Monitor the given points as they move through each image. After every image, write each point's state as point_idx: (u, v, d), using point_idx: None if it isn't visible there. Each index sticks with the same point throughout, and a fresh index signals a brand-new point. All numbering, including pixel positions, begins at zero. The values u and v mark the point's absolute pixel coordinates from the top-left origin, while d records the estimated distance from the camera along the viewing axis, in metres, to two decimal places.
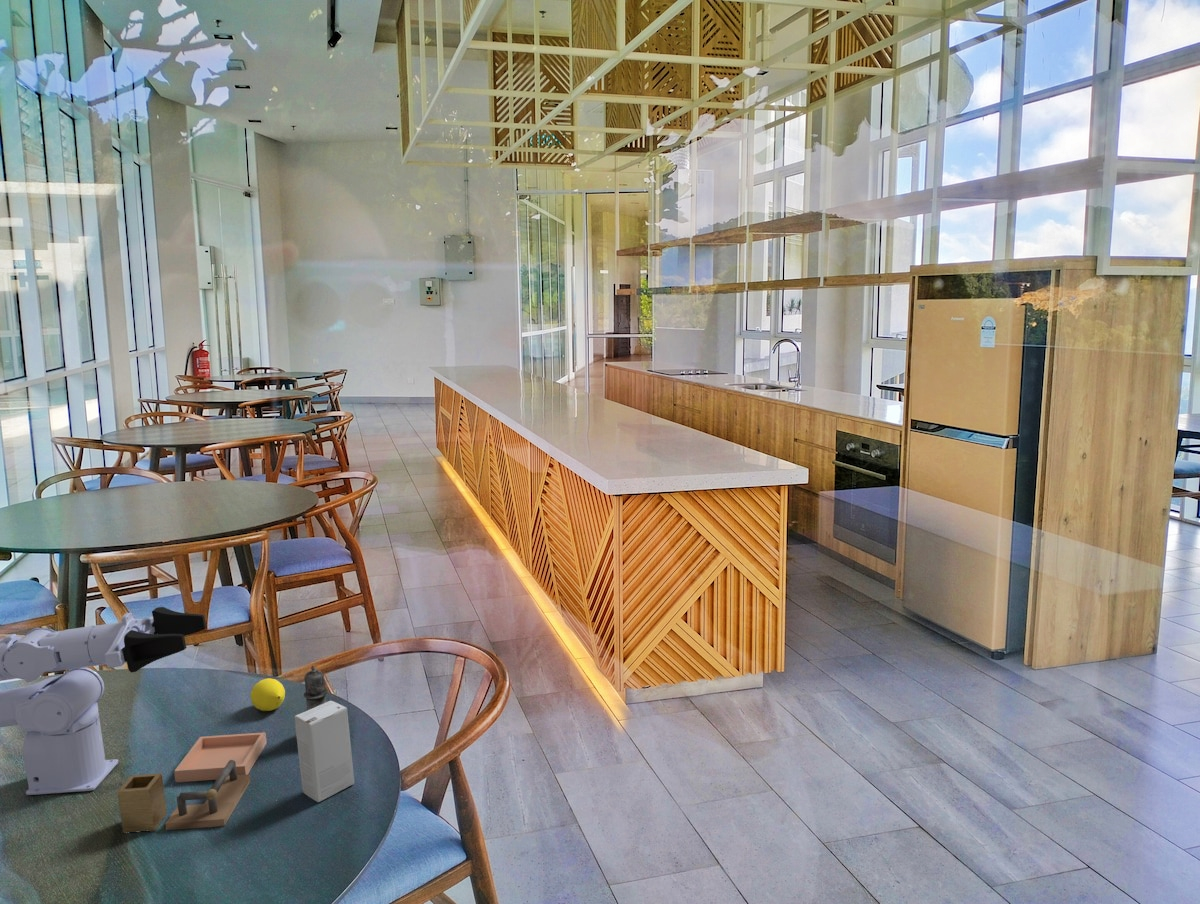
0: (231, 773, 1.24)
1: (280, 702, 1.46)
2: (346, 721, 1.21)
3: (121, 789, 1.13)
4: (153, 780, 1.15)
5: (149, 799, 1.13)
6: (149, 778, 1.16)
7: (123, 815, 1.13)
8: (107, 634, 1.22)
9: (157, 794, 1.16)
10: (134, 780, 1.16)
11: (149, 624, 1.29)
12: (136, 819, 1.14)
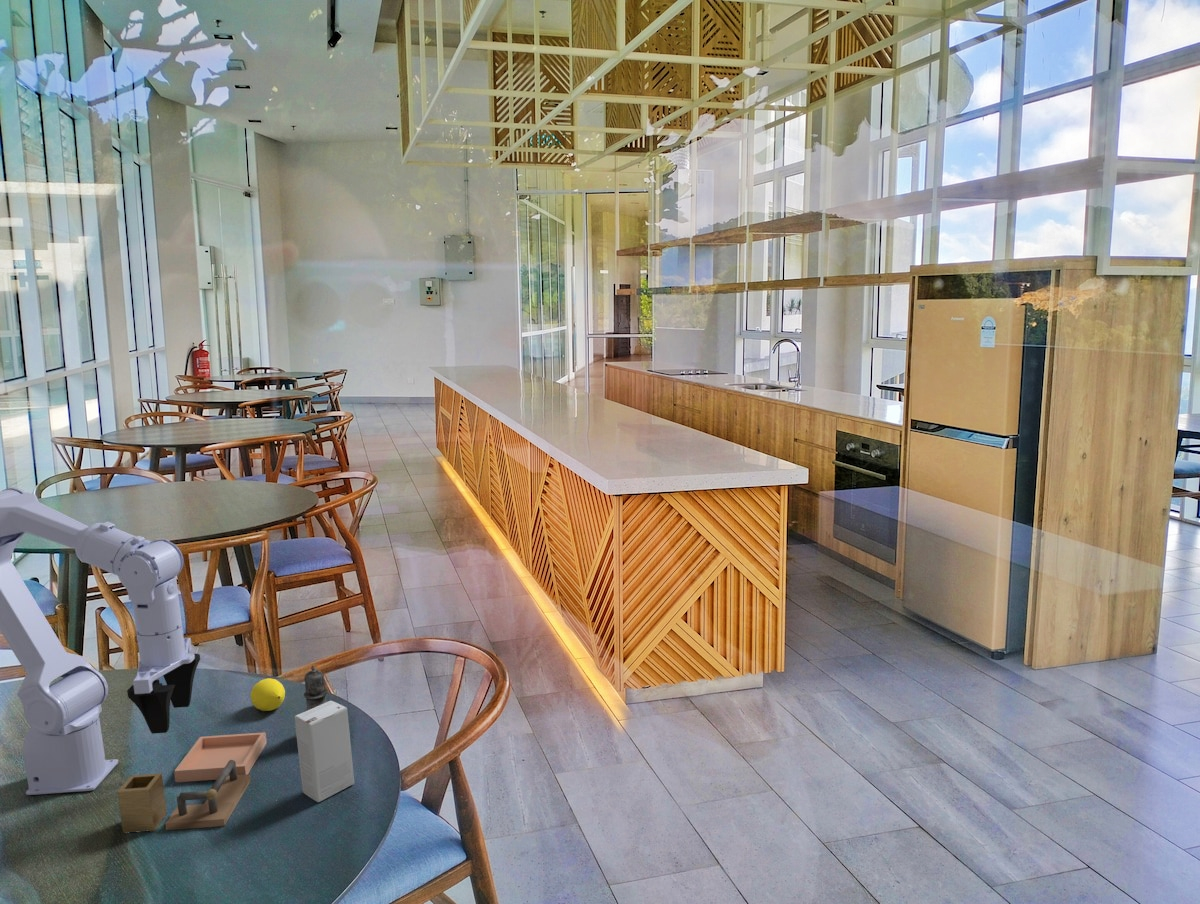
0: (231, 773, 1.24)
1: (280, 702, 1.46)
2: (346, 721, 1.21)
3: (121, 789, 1.13)
4: (153, 780, 1.15)
5: (149, 799, 1.13)
6: (149, 778, 1.16)
7: (123, 815, 1.13)
8: (170, 650, 1.19)
9: (157, 794, 1.16)
10: (134, 780, 1.16)
11: None
12: (136, 819, 1.14)
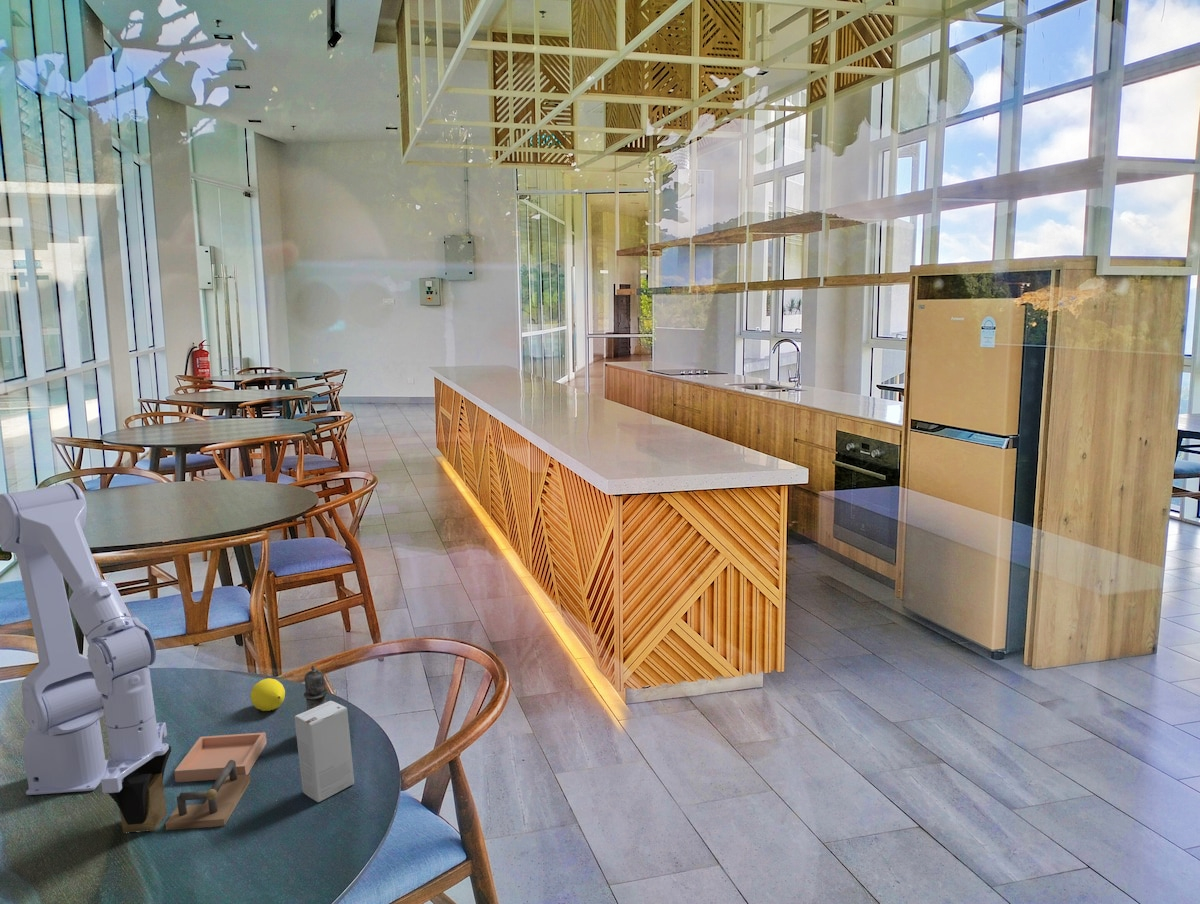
0: (231, 773, 1.24)
1: (280, 702, 1.46)
2: (346, 721, 1.21)
3: None
4: (153, 780, 1.15)
5: (149, 799, 1.13)
6: None
7: None
8: (142, 743, 1.12)
9: (157, 794, 1.16)
10: None
11: None
12: None
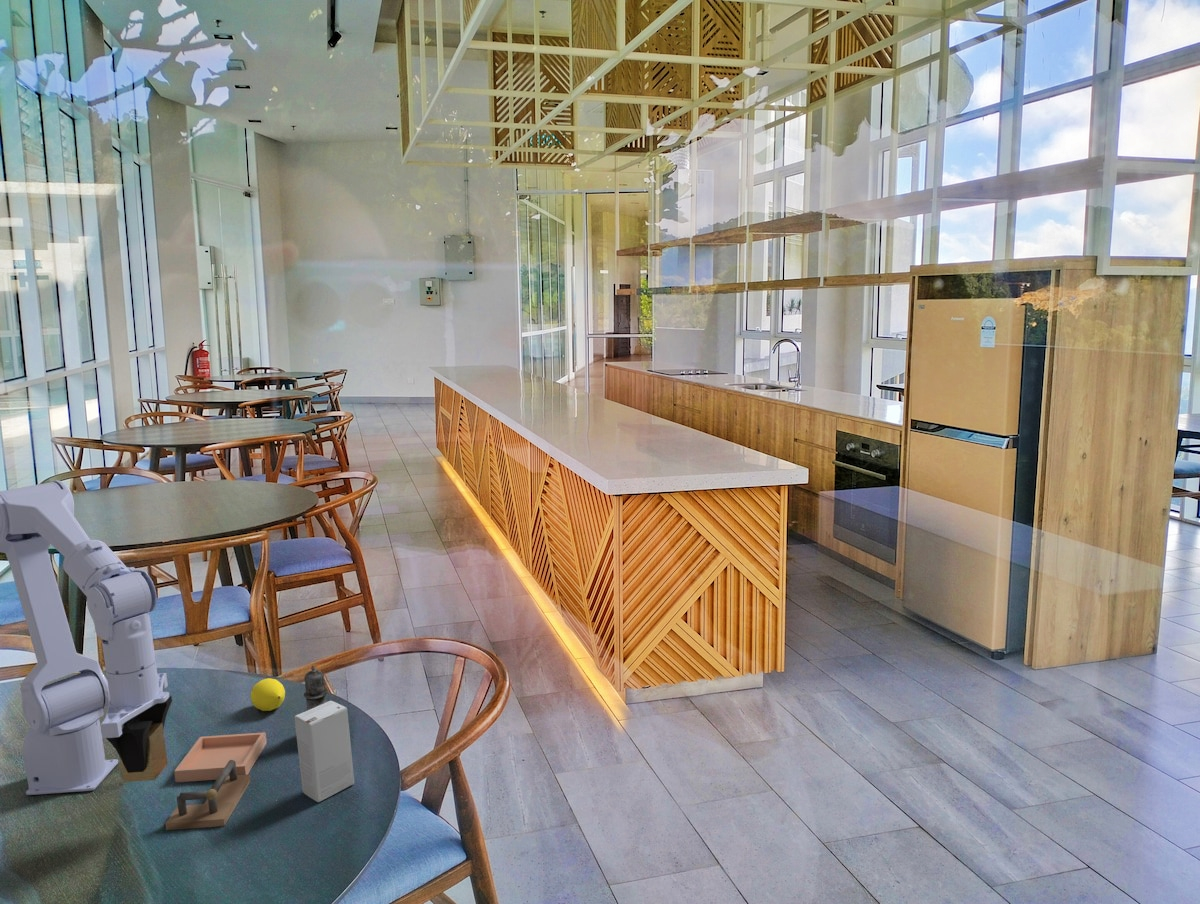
0: (231, 773, 1.24)
1: (280, 702, 1.46)
2: (346, 721, 1.21)
3: None
4: (154, 729, 1.14)
5: (149, 747, 1.12)
6: None
7: None
8: (142, 689, 1.11)
9: (158, 743, 1.14)
10: None
11: None
12: None
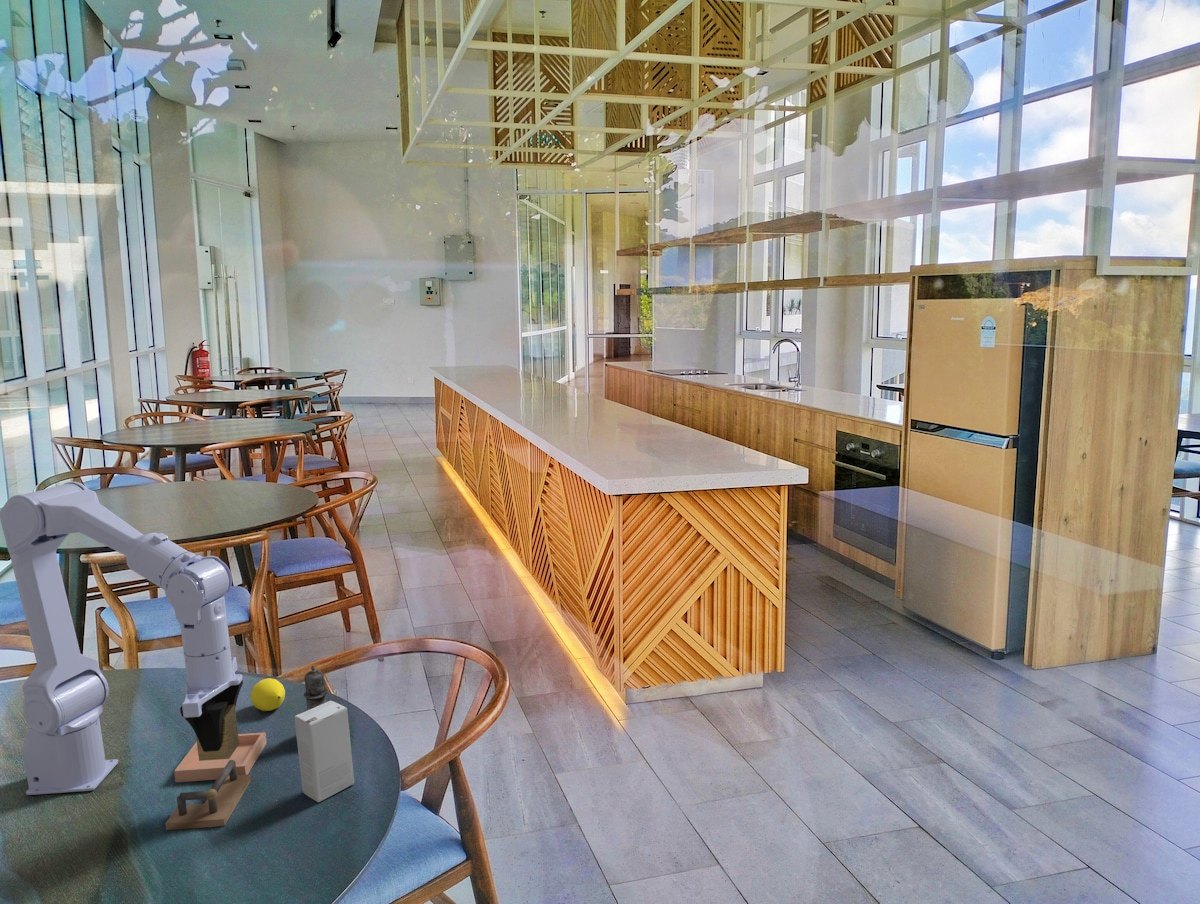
0: (231, 773, 1.24)
1: (280, 702, 1.46)
2: (346, 721, 1.21)
3: None
4: (227, 710, 1.19)
5: (224, 727, 1.17)
6: None
7: (199, 743, 1.17)
8: (219, 672, 1.15)
9: (231, 724, 1.19)
10: None
11: None
12: None
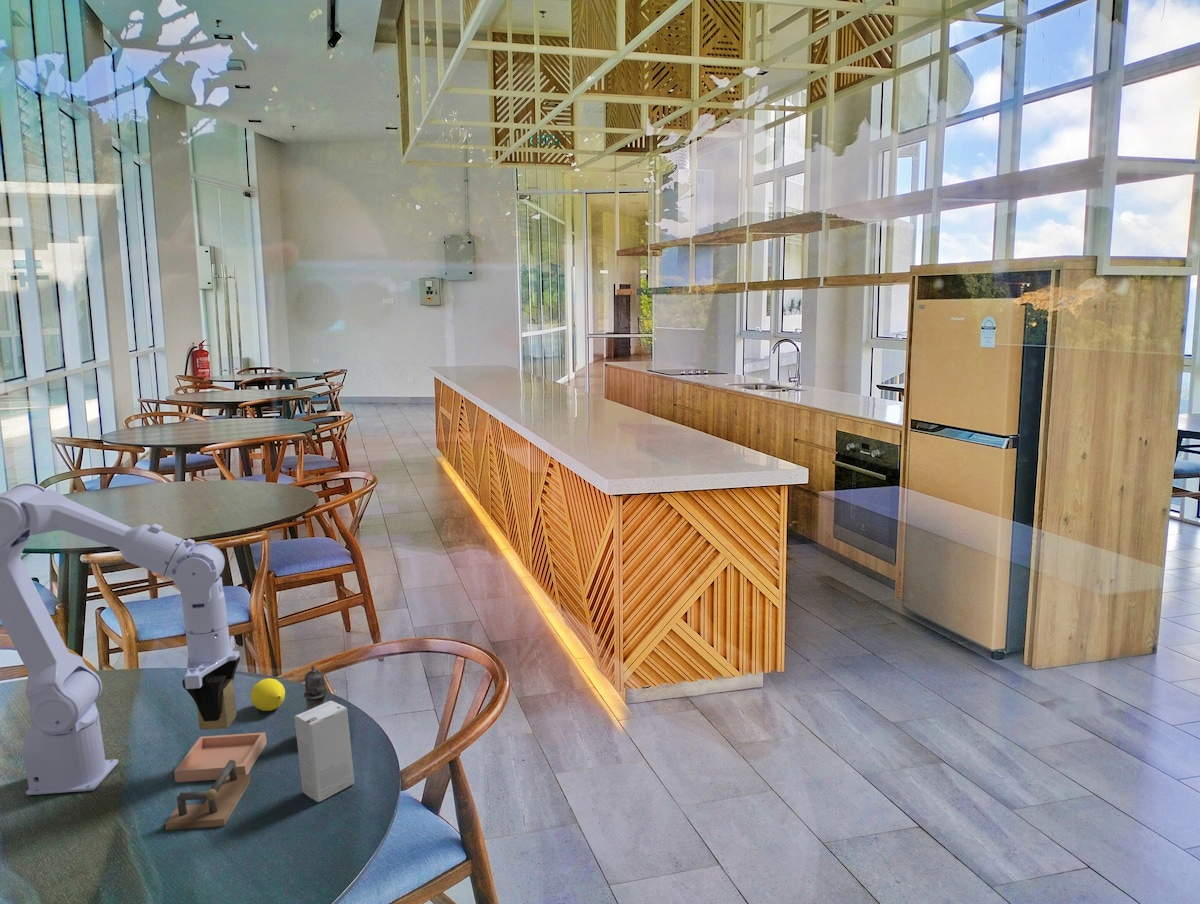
0: (231, 773, 1.24)
1: (280, 702, 1.46)
2: (346, 721, 1.21)
3: None
4: (226, 683, 1.29)
5: (223, 699, 1.27)
6: None
7: None
8: (218, 648, 1.26)
9: (229, 696, 1.29)
10: None
11: None
12: None
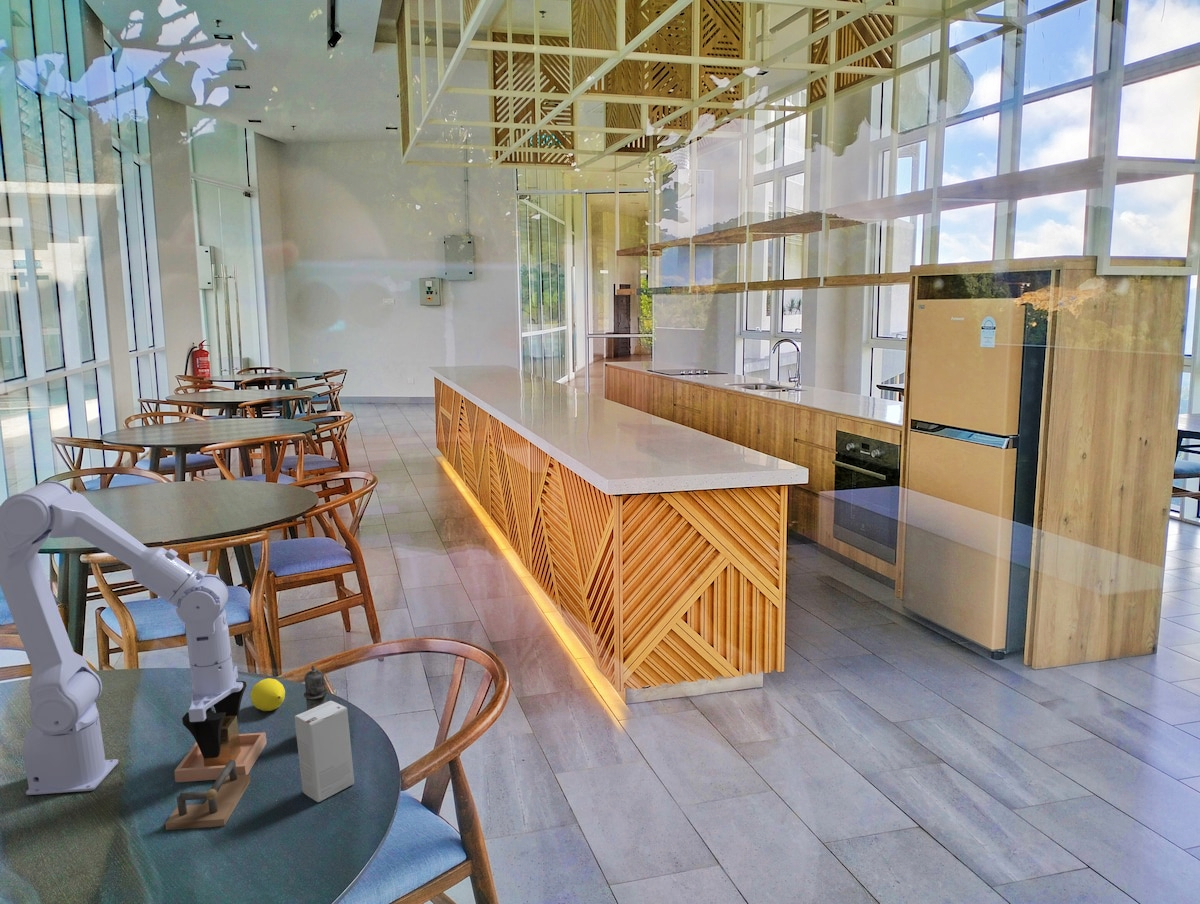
0: (231, 773, 1.24)
1: (280, 702, 1.46)
2: (346, 721, 1.21)
3: None
4: (230, 721, 1.30)
5: (227, 737, 1.28)
6: (226, 719, 1.31)
7: None
8: (221, 680, 1.27)
9: (233, 733, 1.31)
10: None
11: None
12: None
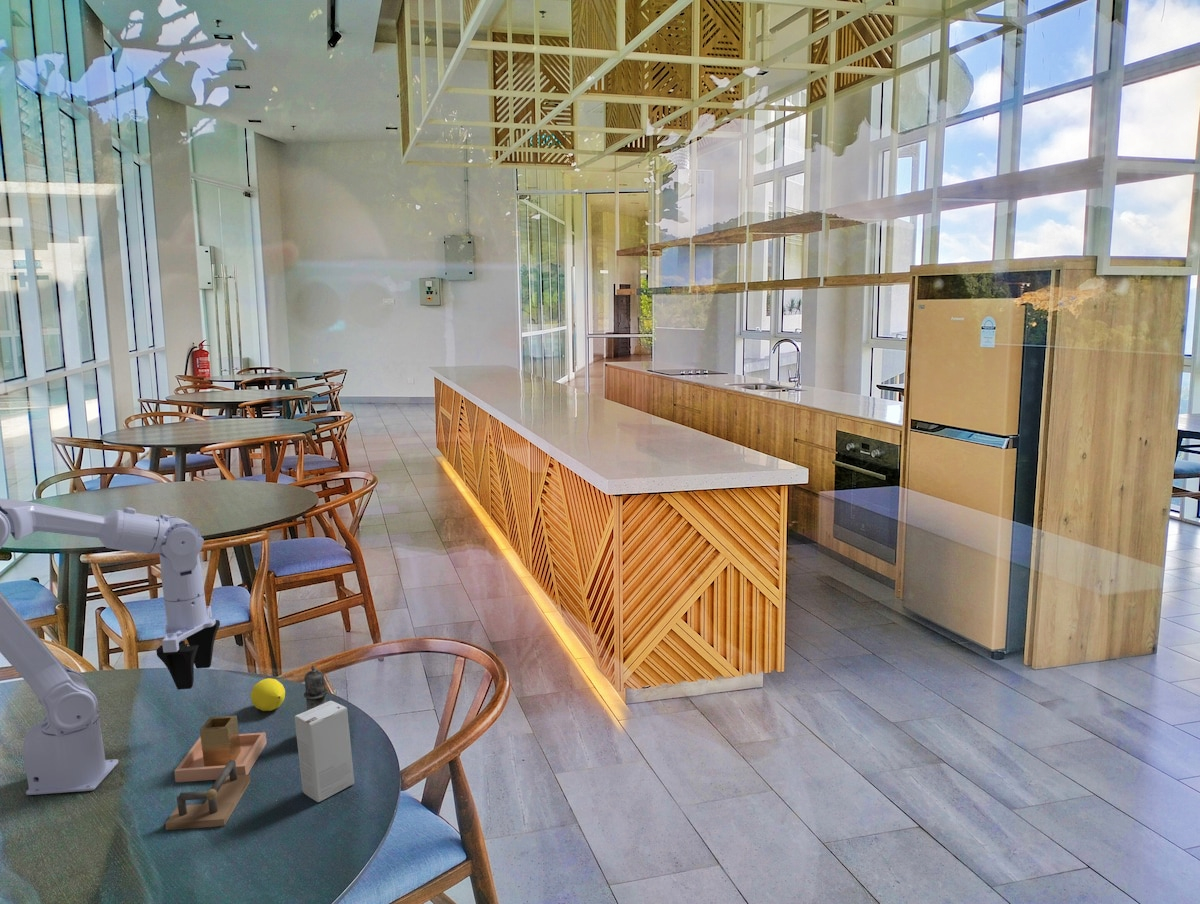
0: (231, 773, 1.24)
1: (280, 702, 1.46)
2: (346, 721, 1.21)
3: (203, 728, 1.28)
4: (230, 721, 1.30)
5: (227, 737, 1.28)
6: (226, 719, 1.31)
7: (204, 751, 1.28)
8: (194, 615, 1.33)
9: (233, 733, 1.31)
10: (213, 721, 1.31)
11: None
12: (216, 754, 1.29)
